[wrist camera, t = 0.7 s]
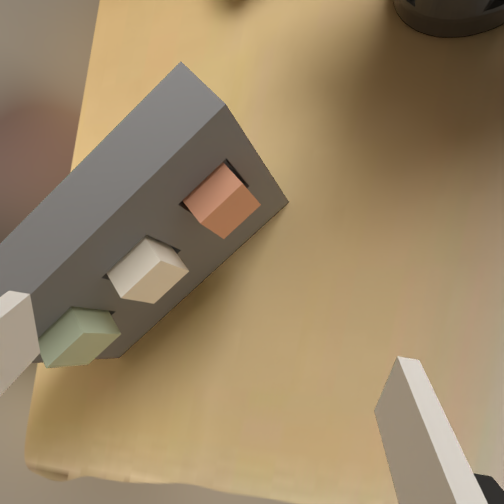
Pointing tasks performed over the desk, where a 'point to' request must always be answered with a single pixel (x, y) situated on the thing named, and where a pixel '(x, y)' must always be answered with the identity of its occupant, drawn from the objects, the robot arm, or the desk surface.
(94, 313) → the sage green button
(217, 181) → the terracotta button
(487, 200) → the desk surface
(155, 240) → the cream button
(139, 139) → the button panel
